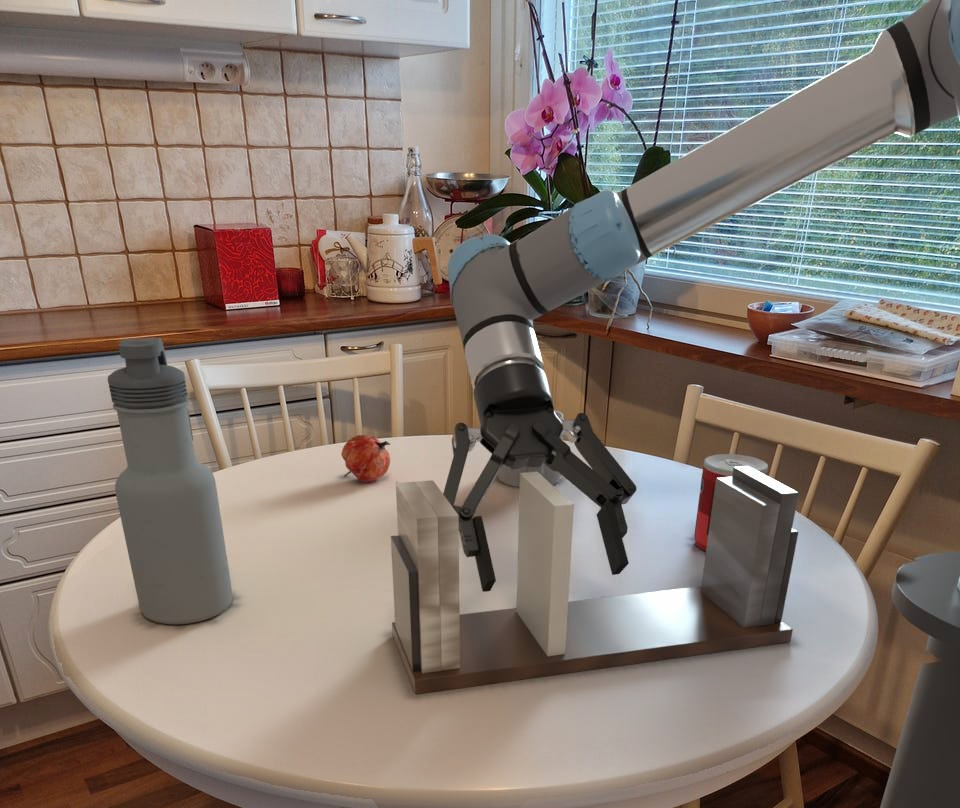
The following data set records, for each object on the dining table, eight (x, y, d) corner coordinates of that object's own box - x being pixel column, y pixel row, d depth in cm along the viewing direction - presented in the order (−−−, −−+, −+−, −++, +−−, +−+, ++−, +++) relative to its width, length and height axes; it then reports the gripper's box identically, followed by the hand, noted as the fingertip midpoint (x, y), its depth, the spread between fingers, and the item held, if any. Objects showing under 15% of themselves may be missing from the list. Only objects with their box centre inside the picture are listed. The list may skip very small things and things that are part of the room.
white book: (532, 609, 89) (537, 471, 82) (565, 654, 81) (574, 504, 74) (516, 611, 89) (519, 472, 82) (547, 656, 80) (554, 506, 73)
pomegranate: (340, 499, 132) (382, 467, 126) (318, 457, 132) (358, 424, 126) (370, 491, 138) (410, 461, 132) (348, 451, 138) (388, 419, 132)
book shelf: (730, 594, 97) (752, 451, 89) (790, 642, 86) (821, 485, 79) (392, 635, 87) (384, 480, 80) (415, 694, 77) (408, 523, 69)
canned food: (726, 531, 114) (738, 450, 109) (767, 551, 108) (782, 467, 103) (680, 539, 111) (690, 457, 106) (720, 561, 105) (732, 475, 100)
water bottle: (144, 592, 97) (91, 334, 83) (233, 583, 99) (195, 330, 86) (137, 632, 88) (77, 351, 75) (234, 621, 90) (192, 346, 77)
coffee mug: (501, 467, 140) (502, 406, 135) (561, 470, 139) (564, 408, 134) (492, 493, 128) (493, 427, 123) (558, 496, 127) (561, 429, 122)
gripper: (609, 394, 92) (660, 576, 86) (385, 411, 86) (423, 607, 80) (633, 351, 85) (690, 546, 79) (391, 367, 79) (433, 578, 73)
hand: (556, 577), depth 80 cm, fingers open, 12 cm apart
